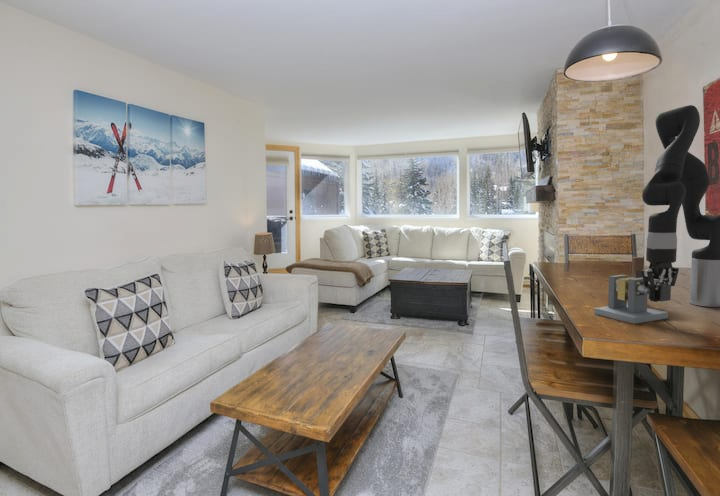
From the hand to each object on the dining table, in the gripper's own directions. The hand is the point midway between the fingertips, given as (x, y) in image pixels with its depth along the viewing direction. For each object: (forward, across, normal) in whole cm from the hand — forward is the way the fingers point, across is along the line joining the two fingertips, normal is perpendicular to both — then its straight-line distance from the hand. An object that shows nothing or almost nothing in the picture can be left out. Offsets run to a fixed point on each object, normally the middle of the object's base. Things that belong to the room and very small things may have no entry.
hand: (659, 300), depth 125 cm
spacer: (-2, 0, -10) cm, 10 cm away
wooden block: (+8, -16, -18) cm, 25 cm away
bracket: (+7, 0, -9) cm, 11 cm away
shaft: (0, 0, -7) cm, 7 cm away
